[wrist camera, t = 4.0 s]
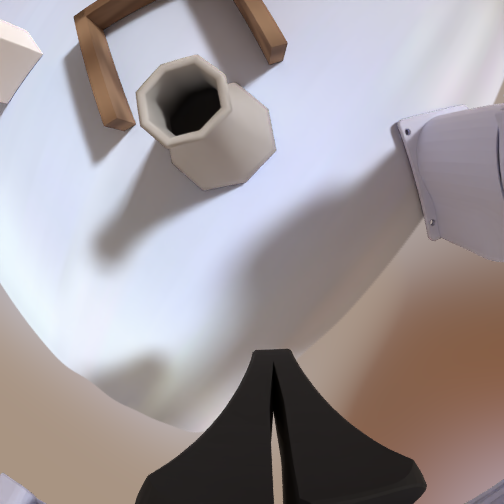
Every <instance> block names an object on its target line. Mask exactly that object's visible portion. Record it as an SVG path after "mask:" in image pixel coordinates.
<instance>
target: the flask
mask: <svg viewBox="0 0 504 504" xmlns="http://www.w3.org/2000/svg"><path fill="white" fill-rule="evenodd" d="M136 100H137V107H138V114H139V121H140V126H141V127H142V128H143V129H144V130H146V131H147V132H148V133H149V134H150V135H151V136H153V137H154V138H155V139H156V140H157V141H158V142H159V143H161V144H162V145H163V146H164V147H165V148H167V149H170V154H171V160H172V164H174V165H175V166H176V167H177V168H178V169H179V170H180V171H181V172H183V173H184V174H185V175H186V176H187V177H188V178H189V179H191V180H192V181H193V182H194V183H195V184H196V185H197V186H198V187H200V188H201V189H202V190H203V191H205V190H210V189H215V188H219V187H225V186H230V185H235V184H240V183H246V182H247V181H248V180H249V179H250V178H251V177H252V176H253V175H254V174H255V172H256V171H257V170H258V169H259V168H260V167H261V166H262V165H263V164H264V163H265V162H266V161H267V160H268V159H269V158H270V157H271V156H272V155H273V154H274V153H275V152H276V146H275V140H274V135H273V130H272V125H271V120H270V115H269V110H268V108H266V107H265V106H264V105H263V104H262V103H261V102H259V101H258V100H257V99H256V98H255V97H253V96H252V95H251V94H250V93H248V92H247V91H246V90H245V89H243V88H242V87H241V86H240V85H238V84H237V83H229V84H227V79H226V75H225V74H224V73H222V72H221V71H220V70H218V69H217V68H216V67H214V66H213V65H212V64H210V63H209V62H207V61H206V60H205V59H203V58H202V57H200V56H199V55H193V56H189V57H185V58H181V59H178V60H174V61H171V62H168V63H164V64H161V65H160V66H159V67H158V68H157V69H156V70H155V71H154V72H153V73H152V75H151V76H150V77H149V78H148V79H147V80H146V81H145V82H144V83H143V85H142V86H141V87H140V88H139V89H138V90H137V92H136Z"/></svg>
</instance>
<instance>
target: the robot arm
mask: <svg viewBox="0 0 504 504" xmlns="http://www.w3.org/2000/svg"><path fill="white" fill-rule="evenodd" d="M398 129H399V131H400V134H401V137H402V140H403V143H404V146H405V149H406V152H407V155H408V158H409V161H410V164H411V168H412V171H413V175H414V178H415V182H416V185H417V189H418V193H419V197H420V201H421V205H422V210H423V214H424V219H425V224H426V229H427V234H428V238H429V239H430V240H432V241H436V240H438V239H440V238H443V239H445V240H448V241H450V242H452V243H454V244H456V245H458V246H460V247H463V248H465V249H467V250H469V251H471V252H473V253H475V254H477V255H479V256H482V257H483V258H486V259H488V260H492V261H497V262H504V103H502V104H495V105H489V106H483V107H477V108H472V109H468V107H467V106H466V105H459V106H454V107H450V108H445V109H441V110H436V111H432V112H428V113H424V114H420V115H416V116H412V117H408V118H404V119H401V120H399V121H398ZM405 129H406V130H407V131H408V135H406V133H405ZM431 220H432V221H433V222H432V224H431V225H430V221H431ZM273 412H274V418H275V424H276V431H277V437H278V443H279V449H280V455H281V464H282V484H283V504H413V503H414V502H415V501H416V500H418V499H419V498H420V497H421V495H422V494H423V493H424V492H425V490H426V487H427V485H426V482H425V480H424V477H423V475H422V473H421V471H420V470H419V468H418V466H417V465H416V463H415V462H414V460H412V459H410V458H408V457H405V456H403V455H401V454H399V453H397V452H394V451H392V450H390V449H388V448H386V447H384V446H382V445H381V444H379V443H377V442H376V441H374V440H373V439H371V438H370V437H368V436H367V435H365V434H364V433H362V432H361V431H360V430H358V429H357V428H355V427H354V426H353V425H351V424H350V423H349V422H348V421H347V420H345V419H344V418H343V417H342V416H341V415H340V414H339V413H338V412H337V411H335V410H334V409H333V408H332V407H331V406H330V405H329V404H328V402H327V401H326V400H325V399H324V398H323V397H322V396H321V395H320V393H318V391H317V390H316V389H315V387H314V386H313V385H312V383H311V382H310V381H309V379H308V378H307V377H306V375H305V374H304V373H303V371H302V369H301V368H300V367H299V365H298V363H297V361H296V359H295V358H294V356H293V354H292V351H291V350H289V349H274V350H255V351H254V352H253V354H252V358H251V361H250V364H249V367H248V369H247V371H246V373H245V375H244V377H243V379H242V381H241V383H240V385H239V387H238V389H237V390H236V392H235V394H234V395H233V397H232V398H231V400H230V401H229V403H228V404H227V406H226V407H225V409H224V410H223V411H222V413H221V414H220V415H219V416H218V418H217V419H216V420H215V421H214V422H213V424H212V425H211V426H210V427H209V428H208V429H207V430H206V431H205V432H204V433H203V434H202V435H201V436H200V437H199V438H198V439H197V440H196V441H195V442H194V443H193V444H192V445H191V446H189V447H188V448H187V449H186V450H184V451H183V452H182V453H181V454H180V455H178V456H177V457H176V458H174V459H173V460H172V461H170V462H169V463H167V464H166V465H164V466H163V467H161V468H160V469H158V470H156V471H155V472H153V473H151V474H150V475H148V476H147V478H146V480H145V481H144V483H143V485H142V487H141V489H140V491H139V493H138V496H137V498H136V502H135V504H274V496H273V476H272V456H271V436H272V421H273ZM0 504H46V503H44V502H42V501H40V500H39V499H37V498H36V497H35V496H34V495H33V494H32V493H31V492H30V491H28V490H27V489H26V488H25V487H23V486H22V485H20V484H19V483H17V482H16V481H14V480H13V479H12V478H10V477H9V476H7V475H6V474H4V473H1V475H0ZM465 504H504V480H502V481H500V482H499V483H497V484H496V485H495V486H493V487H492V488H490V489H488V490H487V491H486V492H484V493H482V494H480V495H479V496H477V497H476V498H474V499H472V500H470V501H469V502H467V503H465Z"/></svg>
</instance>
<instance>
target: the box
mask: <svg viewBox="0 0 504 504" xmlns="http://www.w3.org/2000/svg"><path fill="white" fill-rule="evenodd" d="M154 1H156V0H97V1H96V2H94V3H92V4H91V5H89V6H88V7H86V8H85V9H84V10H82V11H81V12H79V13H78V14H77V15H75V16H74V21H75V26H76V30H77V35H78V39H79V43H80V47H81V51H82V55H83V59H84V63H85V66H86V70H87V74H88V77H89V81H90V84H91V87H92V91H93V94H94V97H95V100H96V103H97V106H98V109H99V112H100V115H101V118H102V121H103V124H104V126H105V127H110V128H114V129H118V130H122V131H125V130H127V129H129V128H130V127H132V126H134V125H136V123H135V120H134V118H133V115H132V112H131V110H130V107H129V104H128V102H127V99H126V96H125V93H124V91H123V88H122V85H121V82H120V79H119V77H118V74H117V71H116V68H115V65H114V62H113V59H112V56H111V53H110V50H109V46H108V43H107V40H106V37H105V34H104V29H105V28H107V27H109V26H110V25H112V24H113V23H115V22H117V21H118V20H120V19H122V18H124V17H125V16H127V15H129V14H131V13H133V12H134V11H136V10H138V9H140V8H142V7H144V6H146V5H148V4H150V3H152V2H154ZM233 1H234V2H235V4H236V6H237V7H238V9H239V11H240V12H241V14H242V16H243V17H244V19H245V21H246V22H247V24H248V26H249V28H250V30H251V31H252V33H253V35H254V37H255V39H256V40H257V42H258V44H259V46H260V48H261V50H262V52H263V53H264V55H265V57H266V59H267V61H268V63H269V65H271V64H274V63H277V62H280V61H283V59H284V55H285V51H286V47H287V41H286V39H285V38H284V36H283V34H282V32H281V31H280V29H279V27H278V26H277V24H276V22H275V20H274V19H273V17H272V16H271V14H270V12H269V11H268V9H267V8H266V6H265V4H264V3H263V1H262V0H233Z"/></svg>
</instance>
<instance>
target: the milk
mask: <svg viewBox="0 0 504 504" xmlns="http://www.w3.org/2000/svg"><path fill="white" fill-rule="evenodd" d="M42 55H43V53H42V52H41V50H40V49H39V47H38V46H37V45H36V43H35V42H34V40H33V39H32V37H31V36H30V34H29V33H28V31H26V30H24V29H22V28H20V27H17V26H15V25H13V24H10V23H8V22H5V21H3V20H1V19H0V102H1V103H9V101H10V99H11V98H12V96H13V95H14V93H15V92H16V90H17V89H18V87H19V86H20V84H21V83H22V81H23V80H24V79H25V77H26V76H27V74H28V73H29V72H30V70H31V69H32V68H33V66H34V65H35V64H36V63H37V61H38V60H39V59H40V58H41V56H42Z"/></svg>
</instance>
